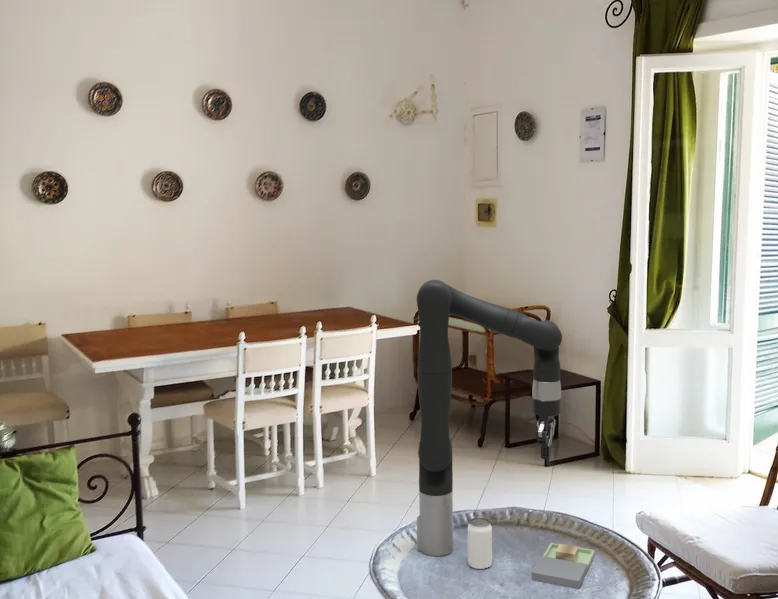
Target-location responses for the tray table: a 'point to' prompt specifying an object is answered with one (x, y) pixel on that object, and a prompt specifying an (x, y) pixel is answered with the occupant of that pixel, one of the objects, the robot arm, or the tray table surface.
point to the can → (479, 543)
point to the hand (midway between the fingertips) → (545, 458)
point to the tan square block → (567, 552)
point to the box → (583, 554)
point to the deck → (559, 572)
